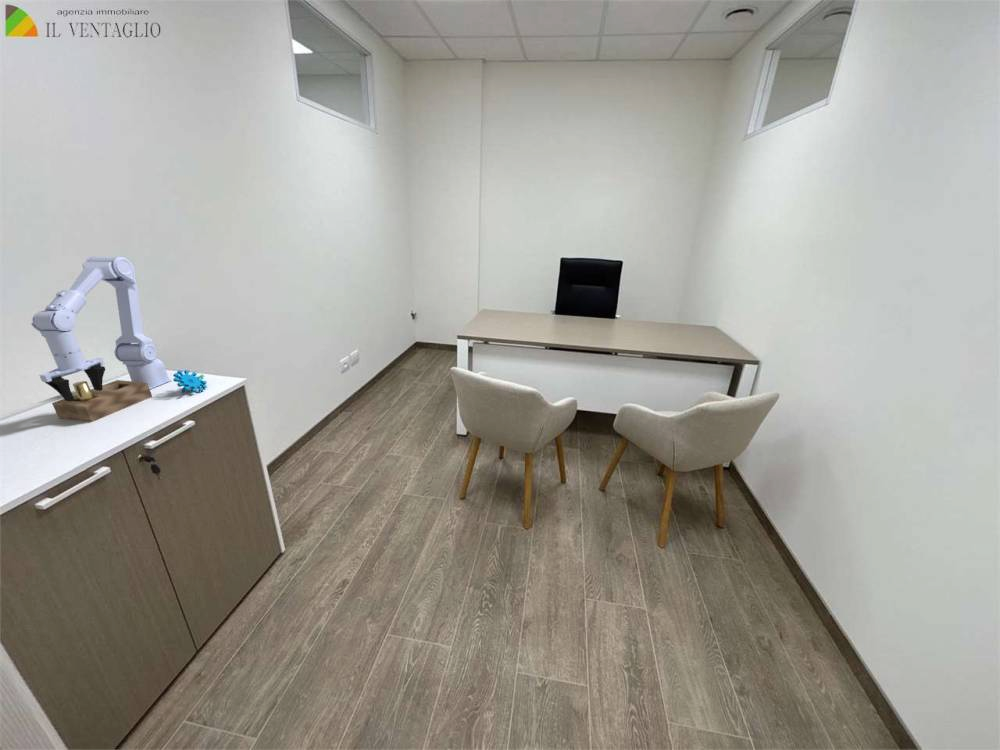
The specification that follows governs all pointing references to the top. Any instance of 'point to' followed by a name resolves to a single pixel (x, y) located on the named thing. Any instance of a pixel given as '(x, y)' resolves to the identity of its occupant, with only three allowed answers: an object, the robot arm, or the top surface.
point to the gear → (189, 381)
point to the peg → (83, 391)
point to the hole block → (103, 401)
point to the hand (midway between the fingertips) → (84, 395)
